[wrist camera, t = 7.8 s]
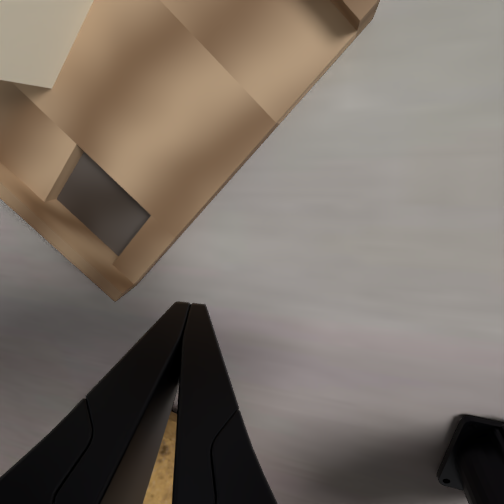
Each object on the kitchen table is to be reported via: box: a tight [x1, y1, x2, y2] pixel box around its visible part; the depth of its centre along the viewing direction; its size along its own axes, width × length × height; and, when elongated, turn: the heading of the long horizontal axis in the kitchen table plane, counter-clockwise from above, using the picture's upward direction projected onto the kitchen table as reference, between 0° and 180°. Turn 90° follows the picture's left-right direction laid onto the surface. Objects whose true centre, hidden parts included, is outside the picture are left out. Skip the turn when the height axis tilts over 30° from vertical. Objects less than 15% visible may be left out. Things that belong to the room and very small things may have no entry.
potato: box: [143, 411, 177, 504], centre depth 23 cm, size 10×14×8 cm
